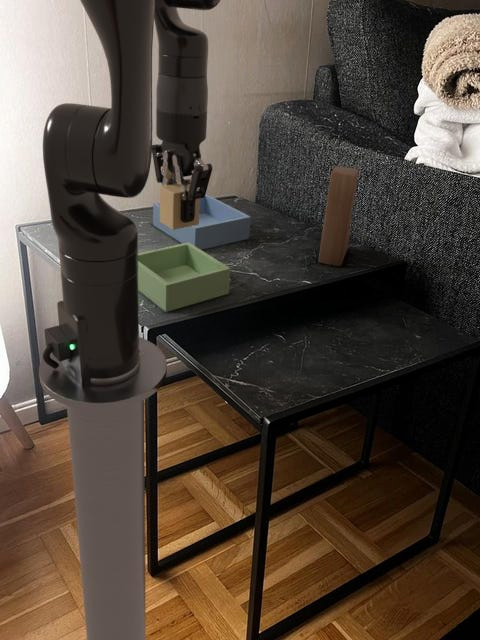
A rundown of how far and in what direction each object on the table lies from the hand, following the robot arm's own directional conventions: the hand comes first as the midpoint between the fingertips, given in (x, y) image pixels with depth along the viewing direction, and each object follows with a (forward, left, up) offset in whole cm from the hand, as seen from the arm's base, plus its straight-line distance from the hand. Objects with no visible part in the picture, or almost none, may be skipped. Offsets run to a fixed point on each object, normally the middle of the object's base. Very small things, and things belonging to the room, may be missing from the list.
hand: (179, 216), depth 99 cm
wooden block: (+34, -4, -13) cm, 37 cm away
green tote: (0, 0, -13) cm, 13 cm away
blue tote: (+18, +19, -13) cm, 29 cm away
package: (0, 0, -1) cm, 1 cm away
